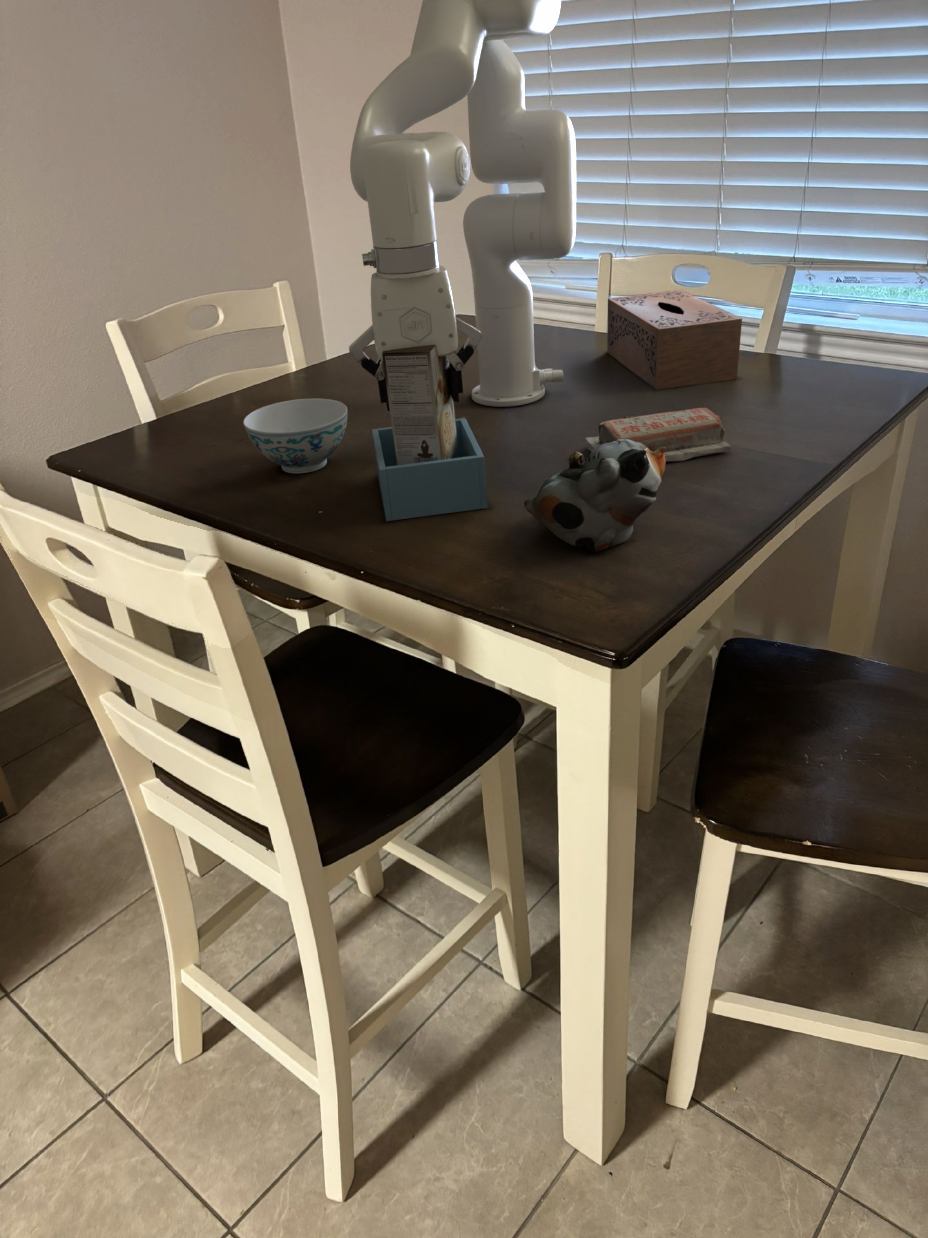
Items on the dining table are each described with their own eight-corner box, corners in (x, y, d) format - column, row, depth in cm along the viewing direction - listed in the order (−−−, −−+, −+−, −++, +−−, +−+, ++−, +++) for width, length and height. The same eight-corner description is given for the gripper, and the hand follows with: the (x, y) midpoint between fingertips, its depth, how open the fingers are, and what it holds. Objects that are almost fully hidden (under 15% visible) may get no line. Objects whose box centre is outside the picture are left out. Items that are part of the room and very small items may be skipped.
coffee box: (414, 447, 124) (400, 330, 115) (459, 447, 122) (448, 328, 114) (396, 474, 116) (380, 351, 108) (444, 475, 115) (432, 349, 106)
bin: (468, 464, 128) (465, 417, 124) (487, 508, 115) (484, 456, 111) (377, 476, 127) (371, 428, 123) (386, 521, 114) (379, 469, 110)
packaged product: (702, 399, 130) (734, 420, 122) (700, 431, 133) (731, 454, 124) (584, 416, 128) (608, 438, 119) (584, 448, 130) (607, 472, 122)
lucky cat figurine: (572, 497, 115) (628, 403, 108) (641, 555, 110) (704, 461, 103) (503, 507, 104) (560, 402, 97) (576, 571, 99) (642, 467, 92)
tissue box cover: (607, 352, 173) (607, 298, 167) (678, 342, 174) (680, 289, 169) (656, 389, 151) (658, 329, 146) (737, 378, 153) (742, 318, 147)
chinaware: (310, 491, 124) (300, 438, 120) (232, 475, 131) (221, 425, 127) (374, 454, 135) (368, 404, 131) (299, 441, 142) (290, 394, 138)
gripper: (334, 273, 102) (356, 421, 111) (484, 256, 103) (494, 403, 113) (332, 261, 108) (353, 402, 117) (474, 245, 110) (483, 385, 119)
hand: (422, 402), depth 115 cm, fingers closed on coffee box, 8 cm apart
